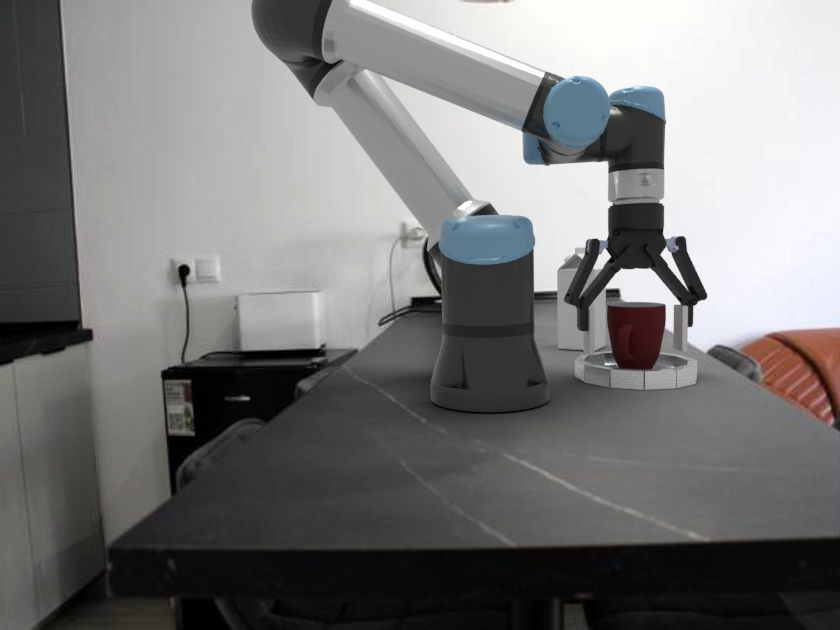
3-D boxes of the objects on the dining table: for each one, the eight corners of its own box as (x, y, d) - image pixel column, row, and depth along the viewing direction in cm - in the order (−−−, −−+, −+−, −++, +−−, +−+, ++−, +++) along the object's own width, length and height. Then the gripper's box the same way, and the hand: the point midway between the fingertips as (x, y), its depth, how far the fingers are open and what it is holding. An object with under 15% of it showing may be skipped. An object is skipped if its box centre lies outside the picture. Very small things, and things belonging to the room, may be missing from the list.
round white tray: (599, 392, 81) (599, 373, 81) (562, 368, 98) (562, 353, 97) (720, 386, 82) (720, 368, 82) (663, 364, 99) (663, 349, 98)
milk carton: (606, 346, 119) (606, 246, 117) (594, 352, 113) (594, 247, 111) (569, 344, 122) (569, 247, 120) (557, 349, 116) (556, 248, 114)
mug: (659, 383, 83) (660, 309, 82) (598, 379, 87) (598, 308, 86) (667, 369, 92) (668, 302, 91) (612, 365, 96) (612, 301, 95)
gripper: (556, 203, 83) (557, 359, 85) (735, 198, 85) (732, 352, 87) (542, 207, 90) (543, 351, 92) (706, 203, 92) (704, 344, 94)
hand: (634, 352), depth 90 cm, fingers open, 13 cm apart
